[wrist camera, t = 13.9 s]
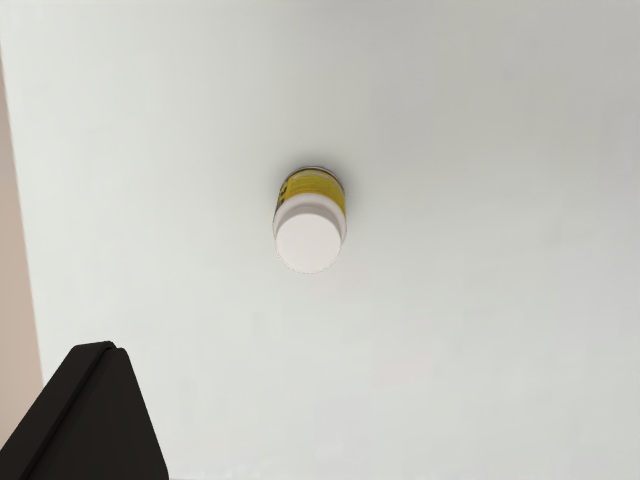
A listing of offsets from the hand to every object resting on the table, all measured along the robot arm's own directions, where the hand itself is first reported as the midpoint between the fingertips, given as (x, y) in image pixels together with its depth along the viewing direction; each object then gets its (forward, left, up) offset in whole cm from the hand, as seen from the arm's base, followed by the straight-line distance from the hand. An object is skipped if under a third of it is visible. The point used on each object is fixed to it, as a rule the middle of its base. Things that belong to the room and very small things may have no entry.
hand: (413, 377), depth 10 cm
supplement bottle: (+4, +8, -34) cm, 35 cm away
